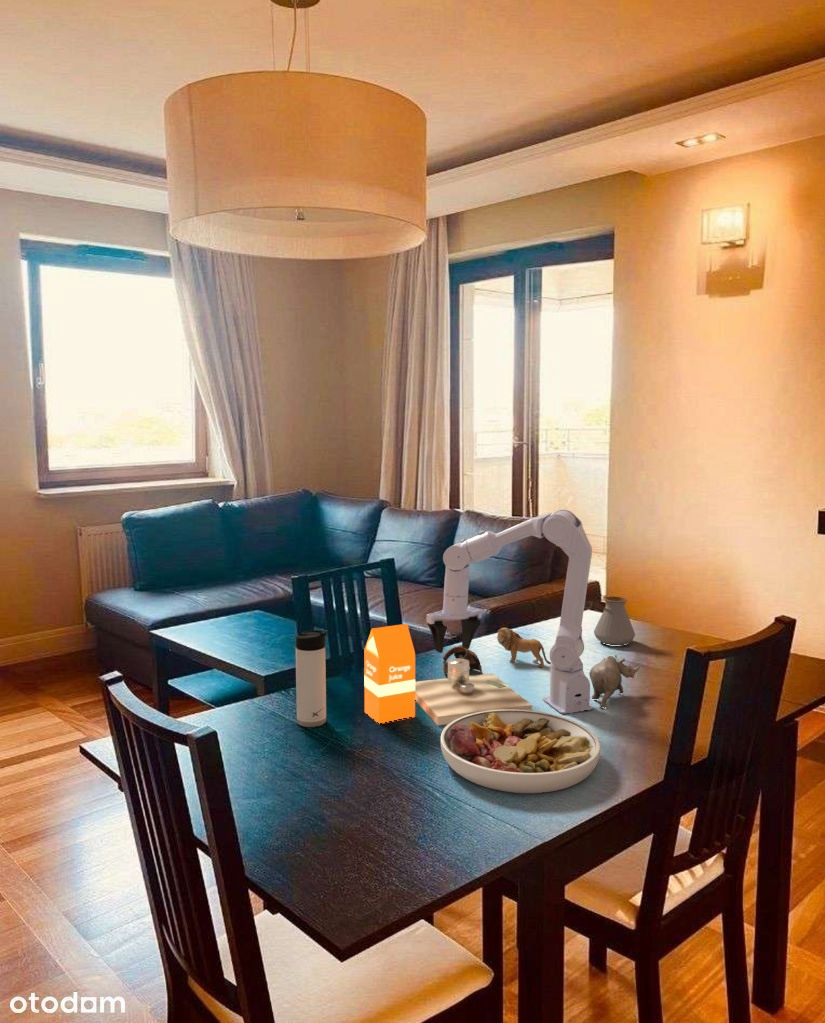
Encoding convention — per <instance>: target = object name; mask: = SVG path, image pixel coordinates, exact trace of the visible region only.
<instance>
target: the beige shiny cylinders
mask: <svg viewBox="0 0 825 1023" xmlns="http://www.w3.org/2000/svg"><path fill="white" fill-rule="evenodd" d="M447 663H448V673H447V678H448V681H449V682H452V683H456V684H457V685H458V686H459V687H460V692H461V693H464V694H471V693H473V692H474V685H473V684H471V683H466V682H468V681H469V676H470V667H469V661H468V660H466V659H461V658H455V657H454V658H450V659H447Z"/></svg>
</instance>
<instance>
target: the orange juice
mask: <svg viewBox="0 0 825 1023" xmlns="http://www.w3.org/2000/svg"><path fill="white" fill-rule="evenodd" d="M363 649H364V652H363V653H364V655H363V656H364V657H363V658H364V661H363V662H364V664H363V665H364V668H363V670H364V672H363V674H364V675H363V676H364V682H363V683H364V684H363V686H364V713H365V714H366V715H367V714H368V715H367V716H369V717H370V718H371V719H372V720H373V719H374V720H373V721H375V723H377V722H378V723H379V724H378V723H377V724H378V725H381V724H380V723H382V724H386V723H385V722H387V723H390V722H389V721H392V722H395V721H394V720H397V721H399V720H398V719H402V720H404V719H403V718H407V719H410V718H409V717H412V718H415V717H416V701H415V682H416V652H415V648H414V644H413V641H412V637H411V633H410V629H409V626H408V623H405V624H404V623H403V624H395V625H388V626H382V627H374V628H371V630H370V633H369V636H368V639H367V641H366V644H365V647H364V648H363Z"/></svg>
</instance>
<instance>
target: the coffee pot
mask: <svg viewBox="0 0 825 1023" xmlns="http://www.w3.org/2000/svg"><path fill="white" fill-rule="evenodd" d="M603 600H604V601H605V607H604V606H603V605H602V604H599V603H598V602H595V601H591V600H588V601H585V605H584V607H586V603H588V604H589V605H590V606H589V607H588V609H590V608H591V607H594V608H597V609H600V610H602V611H603V612H602V613H601V615H600V618H599V620H598V622H597V624H596V626H595V628H594V630H593V633H594V636H595V638H596V639H597V641H599V642H600V641H601V642H602V643H605V644H610V645H624V644H627V643H628V644H630V643H631V642H633V640H634V638H635V637H636V633H635V630H634V627H633V625H632V623H631V620H630V617H629V615H628V613H627V610H626V603H627V602H628V598H625V597H621V596H604V598H603ZM601 642H600V643H601ZM602 643H601V644H602Z"/></svg>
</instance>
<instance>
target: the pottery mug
mask: <svg viewBox="0 0 825 1023" xmlns="http://www.w3.org/2000/svg"><path fill="white" fill-rule="evenodd" d="M451 656H453V657H454V659H455V658H461V659H466V660H468V661H469V671H473V670H476V671H479V673H480V674H479V675H482V674H483V669H482V665H481V662H480V661H481V660H480V659H479V656H478V655H477V654H476V653H475V652H474V651H473V650H470V649H466V648H464V647H462V644H460V645H457V646H454V647H452V648H450V649H449V650H448V651H446V652H445V653H444V655H443V656H442V660H443V661H442V664H443V666H442V671H443V674H444V676H447V674H448V660H449V658H450V657H451Z"/></svg>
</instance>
